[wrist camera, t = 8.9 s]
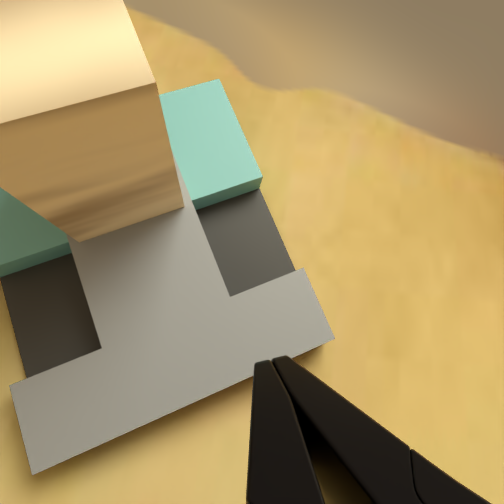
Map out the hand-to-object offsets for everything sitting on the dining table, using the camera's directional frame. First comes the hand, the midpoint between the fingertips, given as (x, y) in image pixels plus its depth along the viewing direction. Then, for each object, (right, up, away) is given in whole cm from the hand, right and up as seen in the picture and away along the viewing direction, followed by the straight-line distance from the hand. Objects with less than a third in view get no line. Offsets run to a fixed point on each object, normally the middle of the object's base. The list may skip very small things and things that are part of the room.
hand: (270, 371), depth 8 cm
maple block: (-8, +8, +11) cm, 16 cm away
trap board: (-7, +3, +13) cm, 14 cm away
